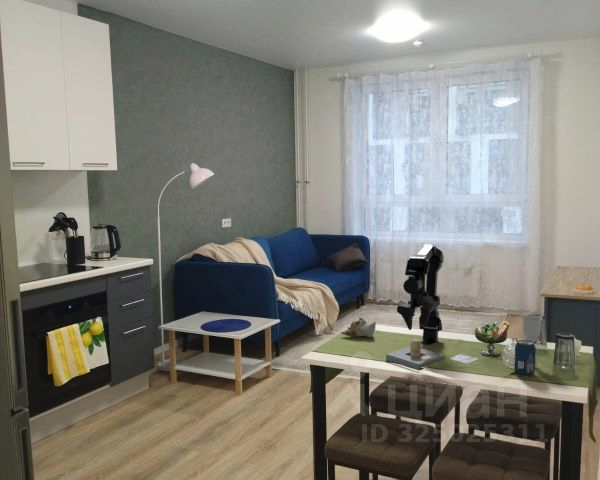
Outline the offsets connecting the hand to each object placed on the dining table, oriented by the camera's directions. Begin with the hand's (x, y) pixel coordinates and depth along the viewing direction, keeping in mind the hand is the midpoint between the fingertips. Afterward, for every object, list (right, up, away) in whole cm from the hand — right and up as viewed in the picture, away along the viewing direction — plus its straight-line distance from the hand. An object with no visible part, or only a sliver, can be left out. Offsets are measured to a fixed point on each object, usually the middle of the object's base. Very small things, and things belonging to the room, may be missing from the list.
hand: (417, 327), depth 223 cm
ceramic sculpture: (-19, -9, +33) cm, 40 cm away
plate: (+17, -13, -4) cm, 22 cm away
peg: (-1, -13, -1) cm, 13 cm away
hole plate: (-1, -13, -1) cm, 13 cm away
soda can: (+35, -14, -18) cm, 42 cm away
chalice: (+42, -13, -7) cm, 44 cm away
